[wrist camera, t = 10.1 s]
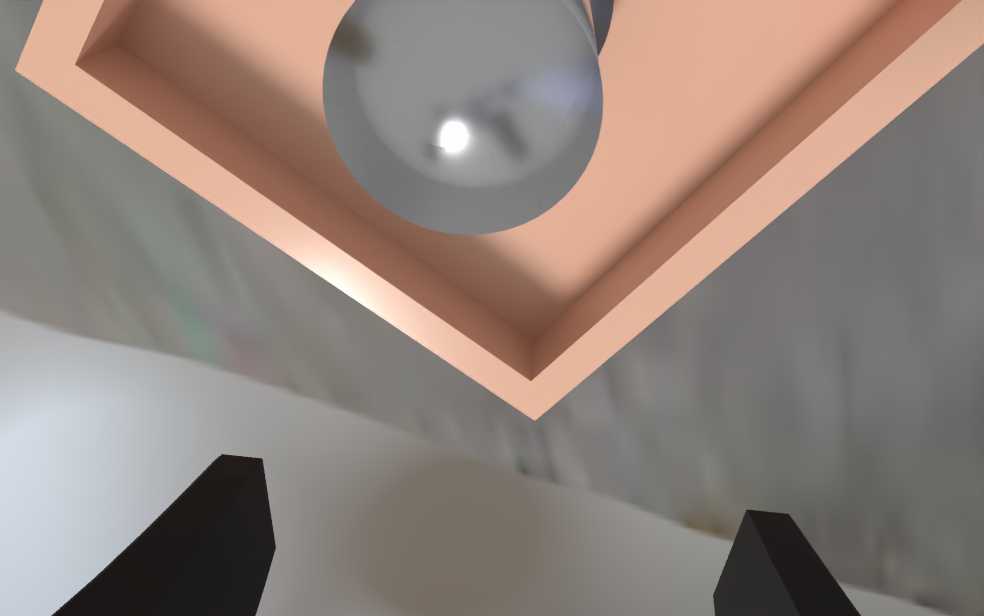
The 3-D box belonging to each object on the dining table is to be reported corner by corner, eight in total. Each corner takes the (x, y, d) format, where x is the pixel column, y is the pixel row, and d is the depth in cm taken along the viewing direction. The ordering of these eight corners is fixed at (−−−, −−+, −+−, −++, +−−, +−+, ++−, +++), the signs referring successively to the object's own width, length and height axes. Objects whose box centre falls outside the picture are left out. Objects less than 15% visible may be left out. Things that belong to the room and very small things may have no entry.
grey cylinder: (635, -109, 15) (694, -50, 8) (581, 109, 17) (592, 291, 11) (411, -155, 14) (283, -133, 8) (391, 72, 17) (282, 232, 10)
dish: (1000, -49, 15) (1070, -31, 13) (536, 365, 22) (534, 420, 20) (436, -752, 11) (407, -892, 9) (78, 42, 18) (15, 70, 16)
